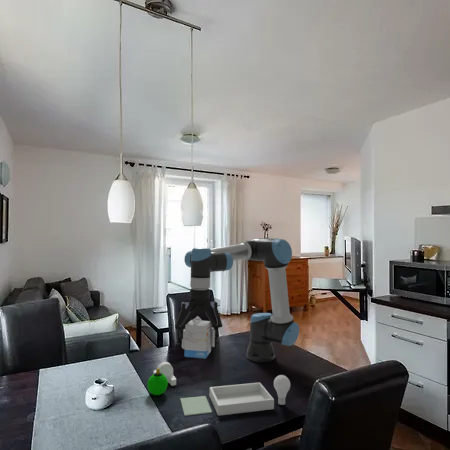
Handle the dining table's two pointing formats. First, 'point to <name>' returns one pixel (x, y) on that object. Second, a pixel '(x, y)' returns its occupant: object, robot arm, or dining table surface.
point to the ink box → (197, 338)
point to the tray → (240, 398)
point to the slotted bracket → (167, 372)
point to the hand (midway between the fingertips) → (198, 346)
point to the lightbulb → (281, 388)
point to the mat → (195, 405)
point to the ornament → (157, 383)
